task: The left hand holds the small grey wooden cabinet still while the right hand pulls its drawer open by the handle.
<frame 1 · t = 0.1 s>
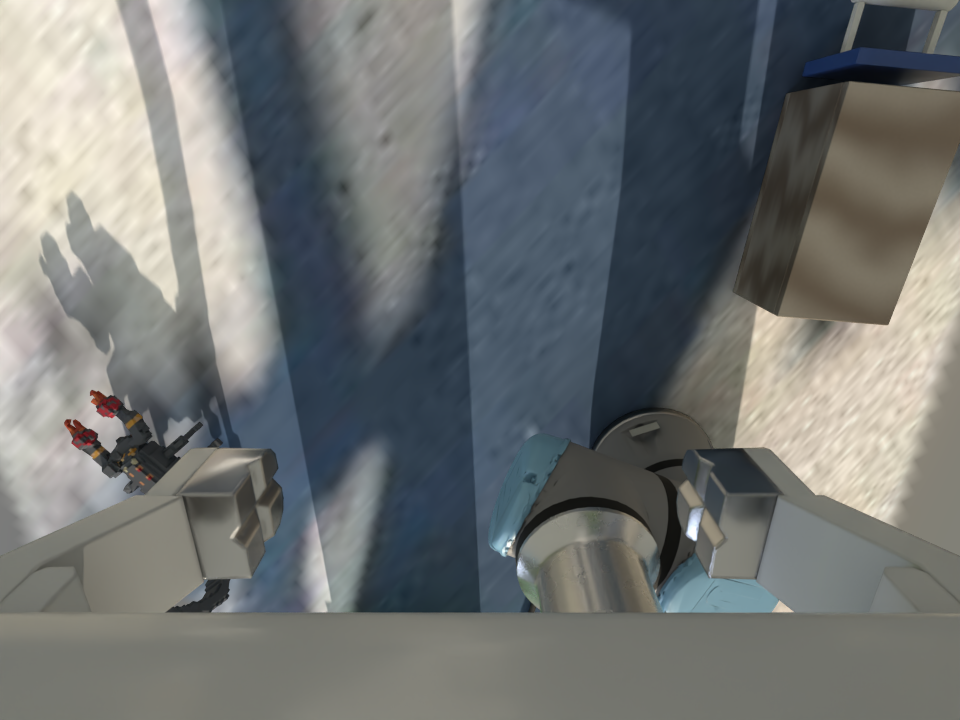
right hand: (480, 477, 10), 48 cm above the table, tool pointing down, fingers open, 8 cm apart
toy: (182, 459, 66), on the table
drawer: (858, 141, 48), point 5 cm above the table, slide at 1.4 cm
cabinet: (807, 203, 55), on the table
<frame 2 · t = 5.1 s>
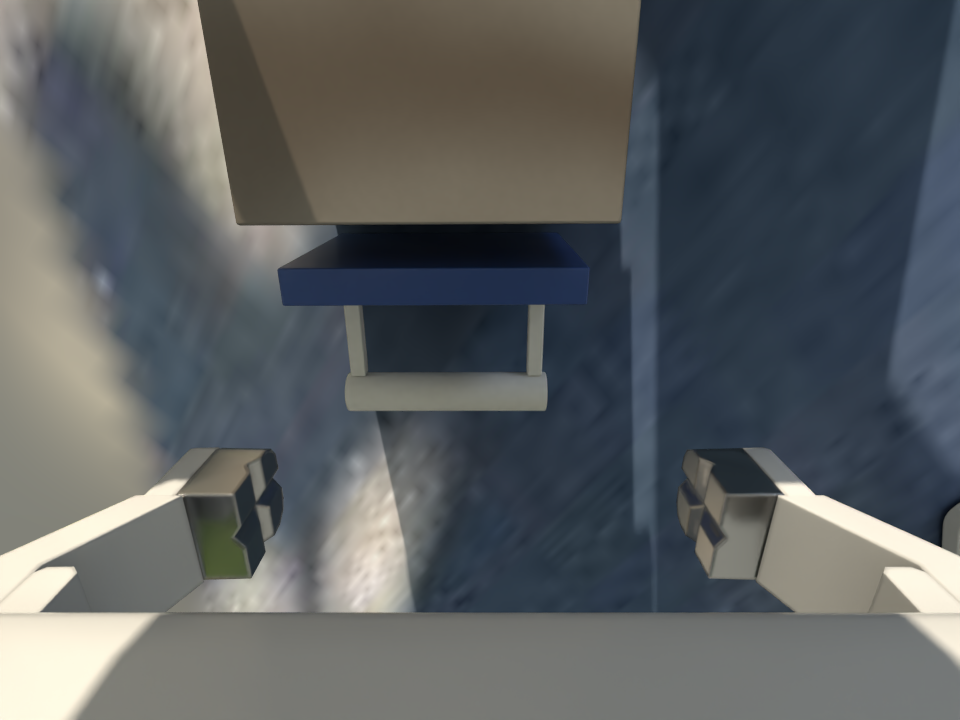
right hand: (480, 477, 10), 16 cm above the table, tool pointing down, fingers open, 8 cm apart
drawer: (437, 85, 17), point 5 cm above the table, slide at 1.4 cm
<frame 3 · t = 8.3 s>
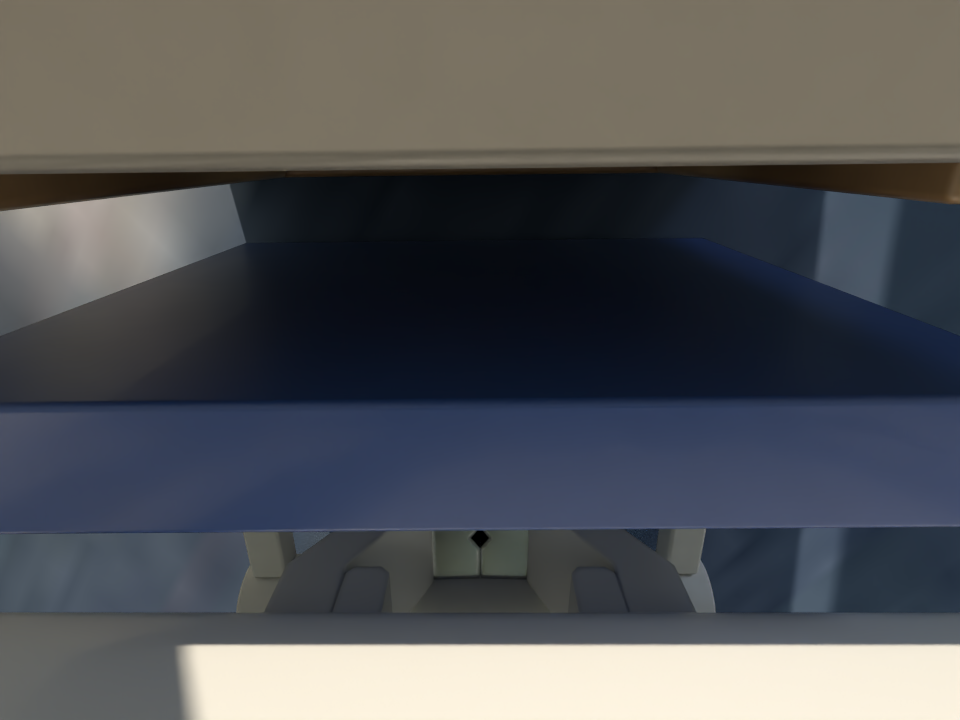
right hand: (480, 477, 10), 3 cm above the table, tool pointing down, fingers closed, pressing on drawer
when the left hand's fingers open (5 cm above the table, at t = 11.2 s): cabinet stays where it is, on the table.
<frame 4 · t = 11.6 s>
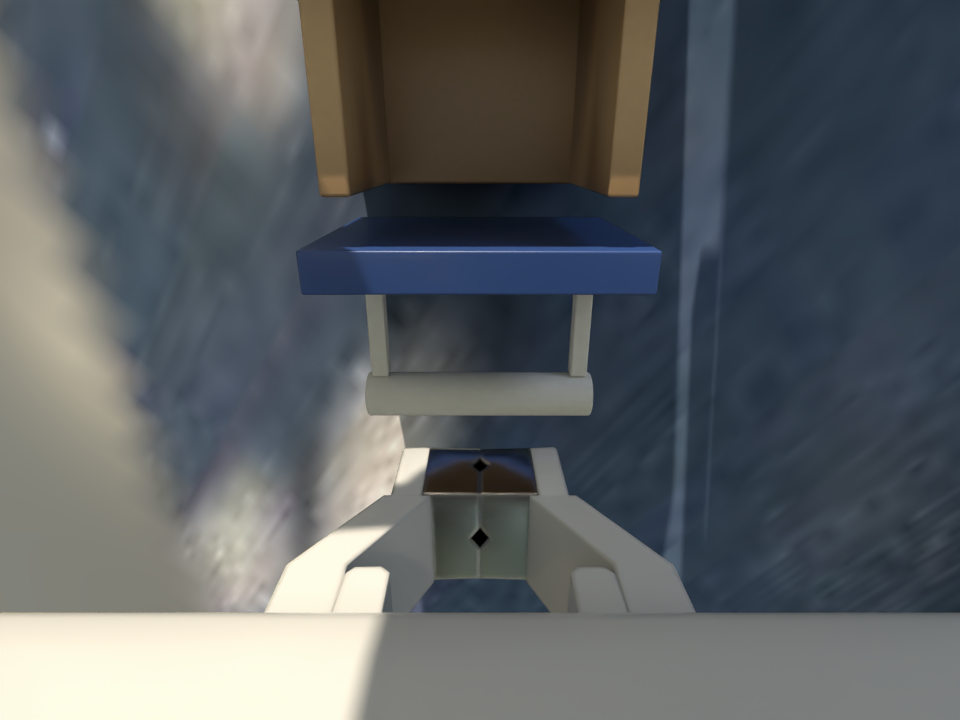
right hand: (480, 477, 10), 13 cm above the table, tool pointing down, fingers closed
drawer: (479, 40, 15), point 5 cm above the table, slide at 6.5 cm
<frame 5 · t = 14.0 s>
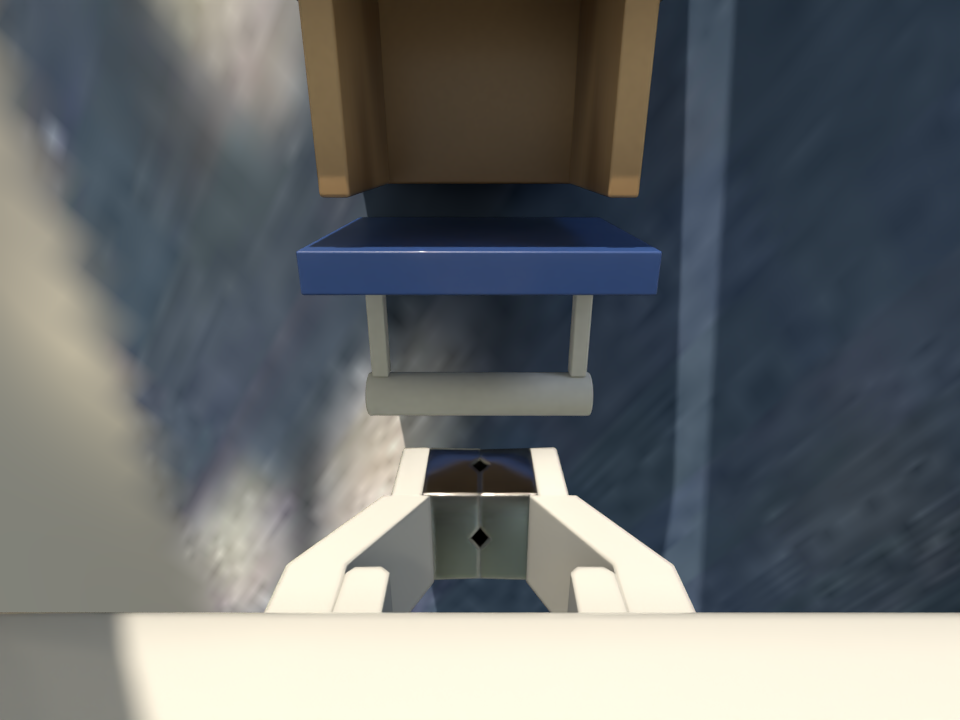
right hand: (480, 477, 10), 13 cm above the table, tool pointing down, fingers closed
drawer: (479, 41, 15), point 5 cm above the table, slide at 6.5 cm
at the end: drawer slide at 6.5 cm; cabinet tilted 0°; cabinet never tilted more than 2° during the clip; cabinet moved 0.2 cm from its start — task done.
